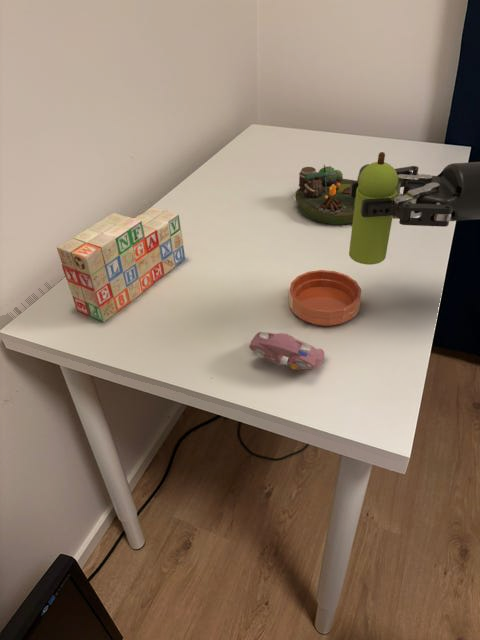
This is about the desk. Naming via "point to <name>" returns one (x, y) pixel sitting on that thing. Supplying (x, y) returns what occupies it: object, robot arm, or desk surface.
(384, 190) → the pear toy
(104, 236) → the stack of blocks
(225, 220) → the desk surface
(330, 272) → the bowl
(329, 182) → the toy scene
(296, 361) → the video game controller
